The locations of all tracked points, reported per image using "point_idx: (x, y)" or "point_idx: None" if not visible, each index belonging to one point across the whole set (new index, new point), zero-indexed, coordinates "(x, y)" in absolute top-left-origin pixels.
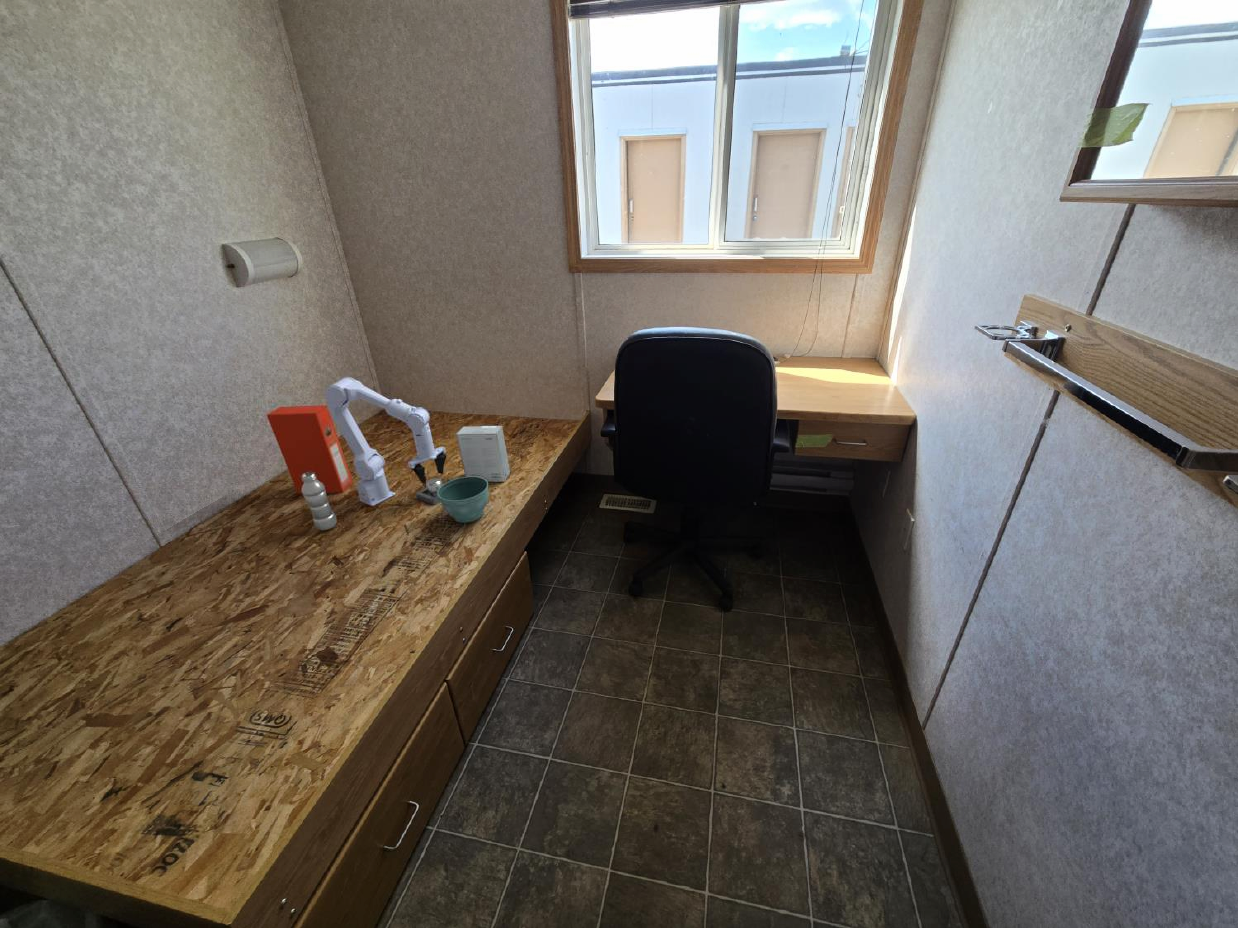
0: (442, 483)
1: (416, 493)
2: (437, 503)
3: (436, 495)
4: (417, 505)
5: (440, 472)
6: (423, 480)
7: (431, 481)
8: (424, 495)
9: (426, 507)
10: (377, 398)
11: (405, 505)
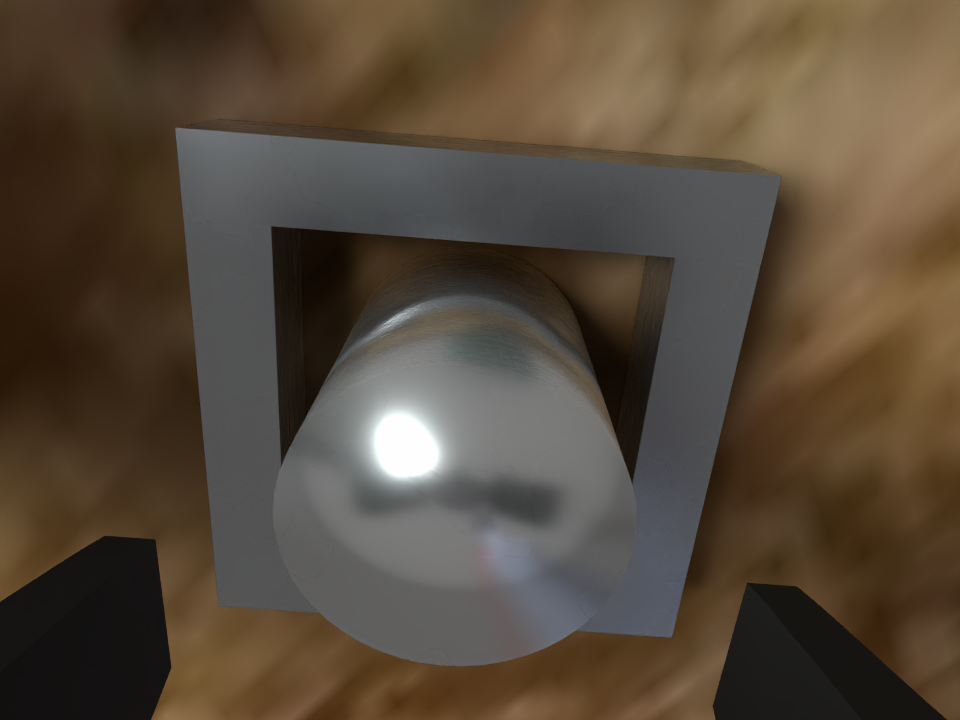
0: (220, 488)
1: (670, 620)
2: (683, 156)
3: (560, 305)
4: (827, 422)
5: (137, 618)
6: (873, 672)
7: (491, 572)
8: (681, 468)
9: (849, 243)
10: None
11: (868, 568)
